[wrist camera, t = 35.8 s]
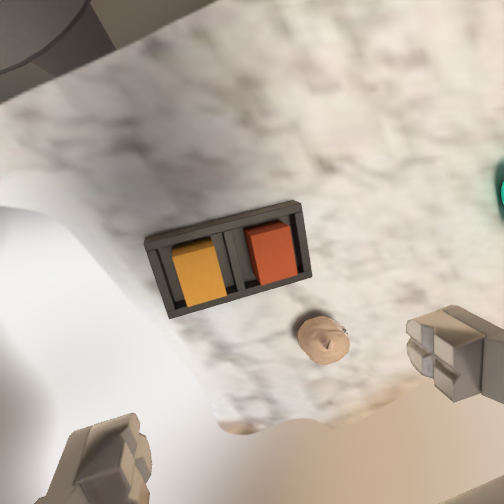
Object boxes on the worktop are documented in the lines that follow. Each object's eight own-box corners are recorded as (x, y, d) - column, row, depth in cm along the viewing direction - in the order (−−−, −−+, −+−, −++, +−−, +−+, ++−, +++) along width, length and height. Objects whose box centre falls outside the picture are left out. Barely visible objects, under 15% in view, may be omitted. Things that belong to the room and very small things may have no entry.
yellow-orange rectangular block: (172, 246, 36) (171, 257, 32) (210, 236, 36) (214, 245, 33) (186, 292, 38) (187, 307, 34) (222, 282, 38) (227, 295, 35)
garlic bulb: (333, 303, 44) (366, 333, 36) (336, 341, 46) (367, 377, 38) (289, 315, 43) (313, 348, 35) (294, 353, 45) (318, 393, 37)
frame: (145, 237, 35) (143, 243, 33) (293, 200, 38) (301, 202, 36) (169, 309, 39) (169, 319, 36) (304, 270, 41) (312, 277, 39)
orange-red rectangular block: (243, 228, 37) (250, 236, 33) (278, 218, 38) (289, 225, 34) (253, 273, 39) (261, 285, 35) (286, 263, 40) (298, 275, 36)
